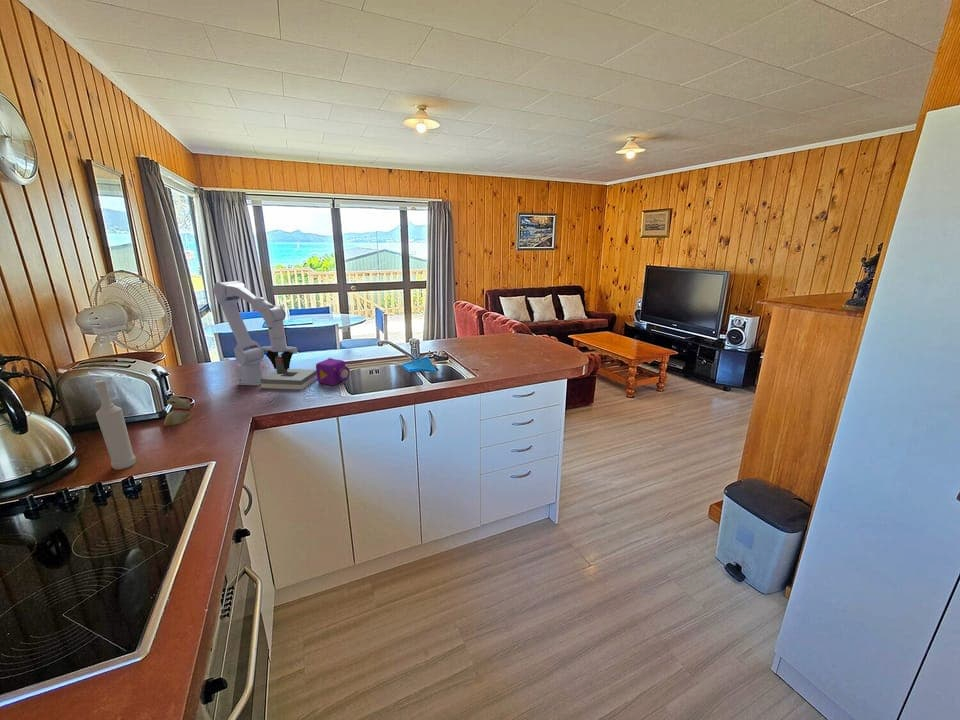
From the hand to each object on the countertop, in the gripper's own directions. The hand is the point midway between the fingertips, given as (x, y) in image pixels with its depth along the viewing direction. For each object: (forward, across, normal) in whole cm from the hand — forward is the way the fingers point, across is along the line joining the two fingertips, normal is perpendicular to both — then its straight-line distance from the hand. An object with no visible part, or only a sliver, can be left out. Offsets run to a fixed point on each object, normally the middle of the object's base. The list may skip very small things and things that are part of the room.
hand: (282, 368), depth 165 cm
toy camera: (+9, +18, +10) cm, 22 cm away
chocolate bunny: (+9, -19, -34) cm, 39 cm away
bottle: (+9, -11, -60) cm, 62 cm away
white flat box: (+9, -1, +7) cm, 11 cm away
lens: (+2, 0, 0) cm, 2 cm away
